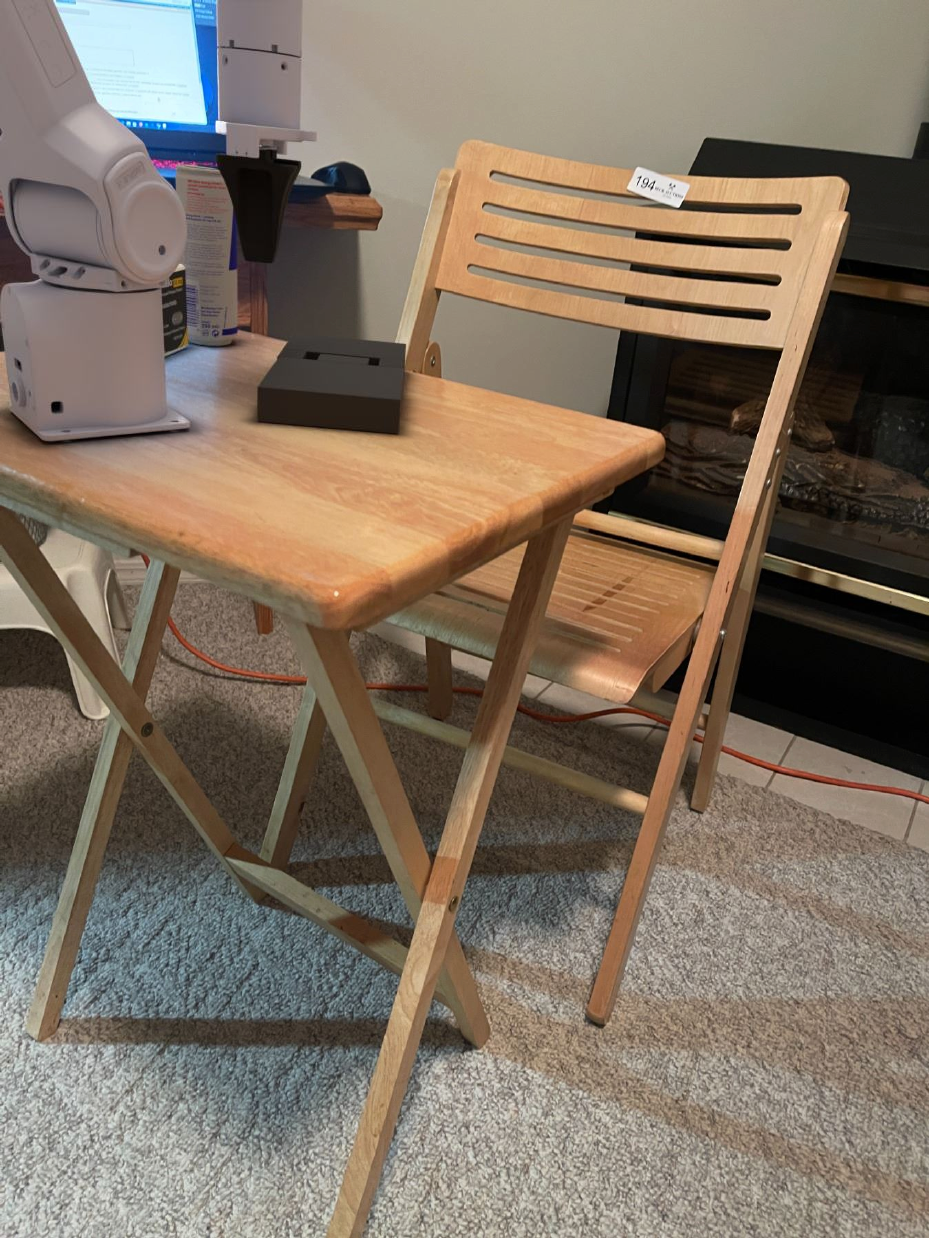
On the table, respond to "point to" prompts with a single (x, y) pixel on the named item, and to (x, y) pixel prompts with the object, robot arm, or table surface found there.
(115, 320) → the robot arm
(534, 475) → the table surface
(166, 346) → the black printed box
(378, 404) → the loose pad
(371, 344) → the pad
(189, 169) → the beverage can
